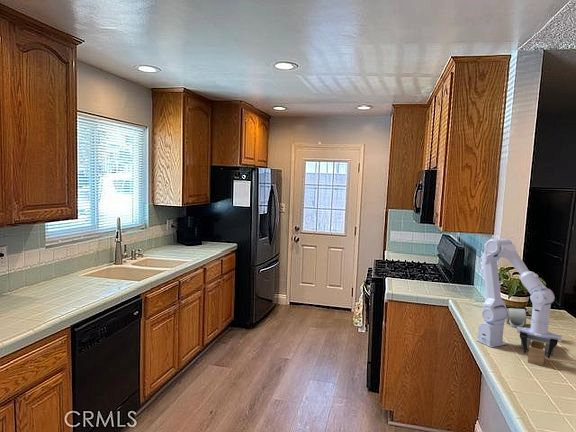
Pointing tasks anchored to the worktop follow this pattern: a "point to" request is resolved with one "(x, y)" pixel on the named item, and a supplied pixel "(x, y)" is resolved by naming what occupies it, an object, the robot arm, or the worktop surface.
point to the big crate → (540, 339)
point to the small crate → (536, 352)
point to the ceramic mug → (516, 317)
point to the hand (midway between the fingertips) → (536, 354)
